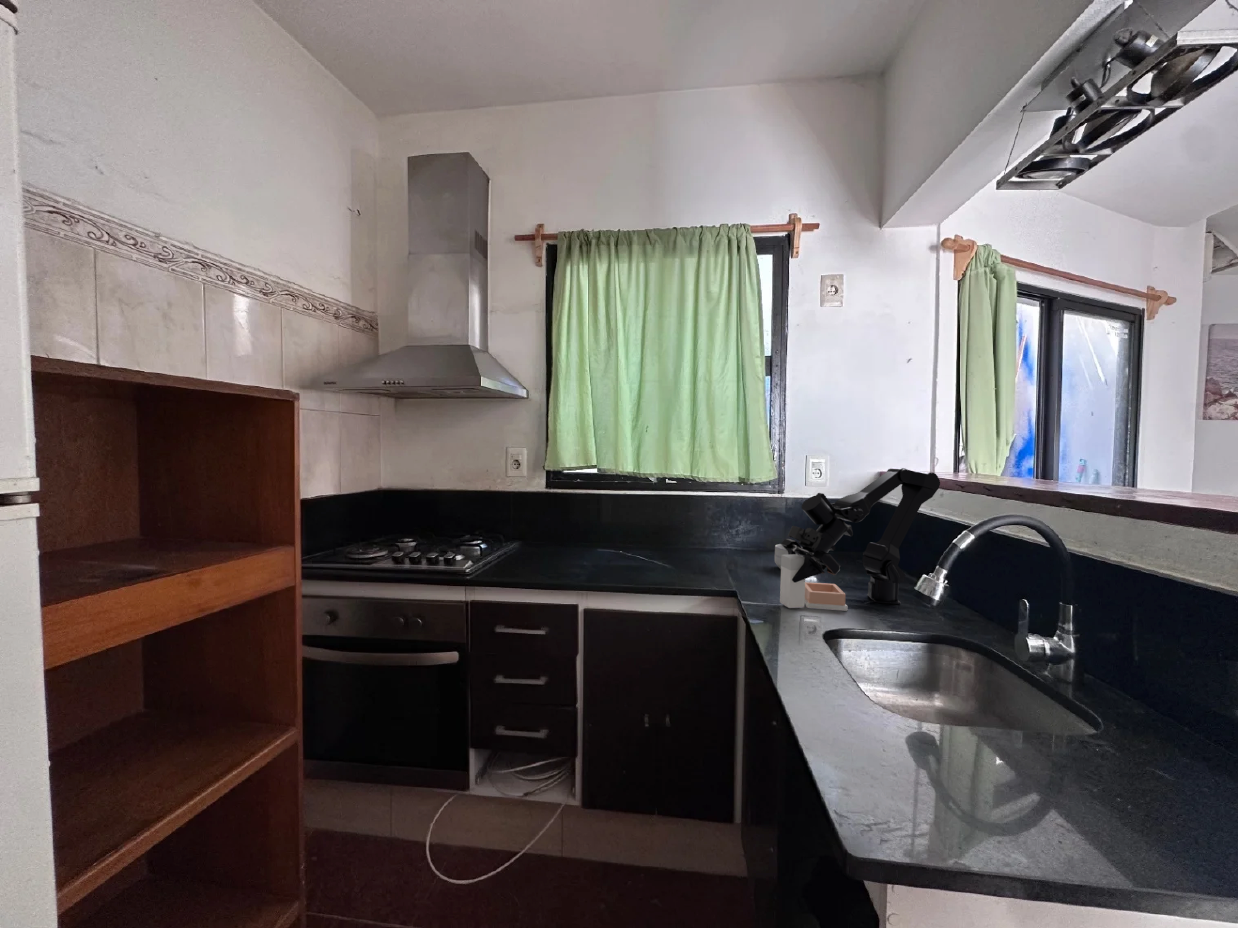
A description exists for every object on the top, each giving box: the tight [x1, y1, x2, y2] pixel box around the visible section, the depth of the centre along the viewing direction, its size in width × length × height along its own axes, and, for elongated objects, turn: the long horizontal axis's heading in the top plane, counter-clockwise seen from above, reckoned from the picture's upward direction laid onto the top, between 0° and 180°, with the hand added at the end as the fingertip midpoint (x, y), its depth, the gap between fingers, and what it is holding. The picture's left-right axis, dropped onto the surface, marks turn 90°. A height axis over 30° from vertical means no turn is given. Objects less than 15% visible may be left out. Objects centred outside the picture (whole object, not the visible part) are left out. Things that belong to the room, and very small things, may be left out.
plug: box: [779, 554, 806, 609], centre depth 123 cm, size 4×4×13 cm
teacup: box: [774, 543, 805, 570], centre depth 159 cm, size 14×11×8 cm
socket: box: [804, 581, 849, 612], centre depth 127 cm, size 10×10×4 cm
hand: (788, 578), depth 123 cm, fingers closed on plug, 4 cm apart
